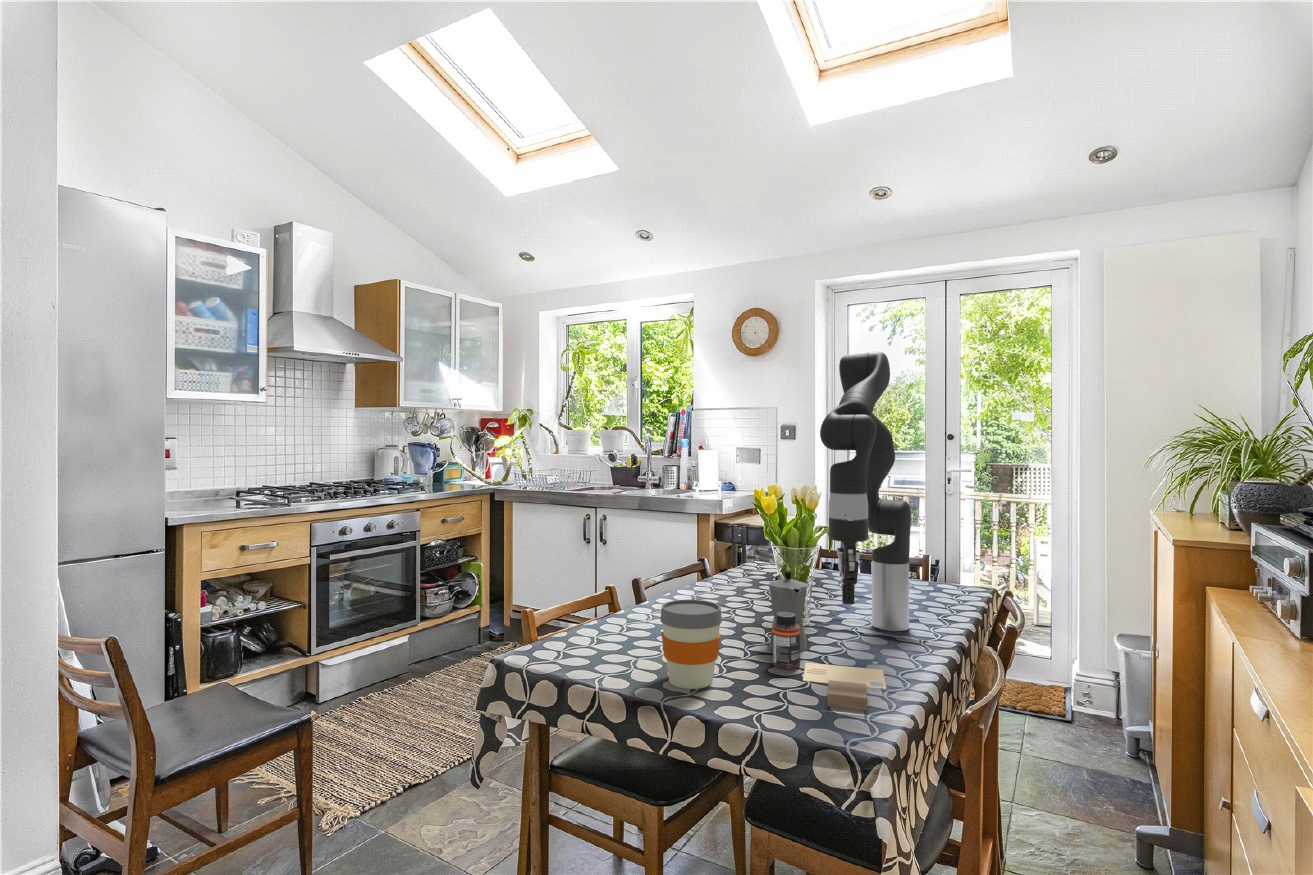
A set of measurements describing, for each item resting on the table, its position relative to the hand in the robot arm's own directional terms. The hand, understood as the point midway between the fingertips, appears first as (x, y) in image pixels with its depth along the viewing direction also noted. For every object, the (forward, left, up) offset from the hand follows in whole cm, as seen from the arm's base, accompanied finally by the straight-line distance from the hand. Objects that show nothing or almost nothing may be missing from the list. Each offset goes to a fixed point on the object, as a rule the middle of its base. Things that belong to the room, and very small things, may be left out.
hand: (848, 603), depth 130 cm
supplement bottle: (-9, -13, -17) cm, 23 cm away
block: (+8, 0, -17) cm, 19 cm away
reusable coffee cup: (+5, -31, -17) cm, 35 cm away
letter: (-6, -1, -17) cm, 18 cm away
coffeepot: (-23, -14, -17) cm, 32 cm away
